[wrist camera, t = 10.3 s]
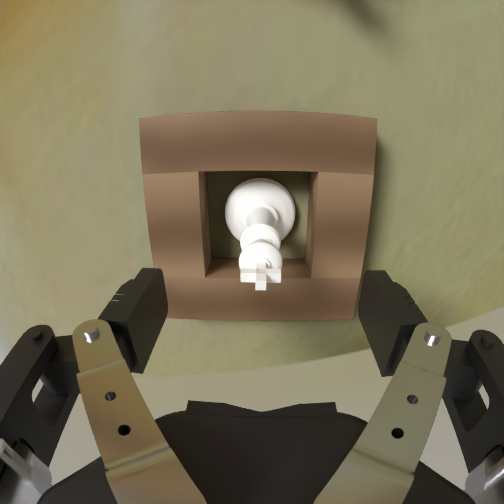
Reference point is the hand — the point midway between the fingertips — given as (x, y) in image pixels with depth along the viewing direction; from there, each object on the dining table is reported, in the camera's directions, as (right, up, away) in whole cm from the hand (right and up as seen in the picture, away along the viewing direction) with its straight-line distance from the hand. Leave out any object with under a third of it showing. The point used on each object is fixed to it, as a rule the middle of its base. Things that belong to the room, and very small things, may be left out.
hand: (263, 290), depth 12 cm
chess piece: (0, +4, +10) cm, 11 cm away
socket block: (0, +4, +9) cm, 10 cm away
